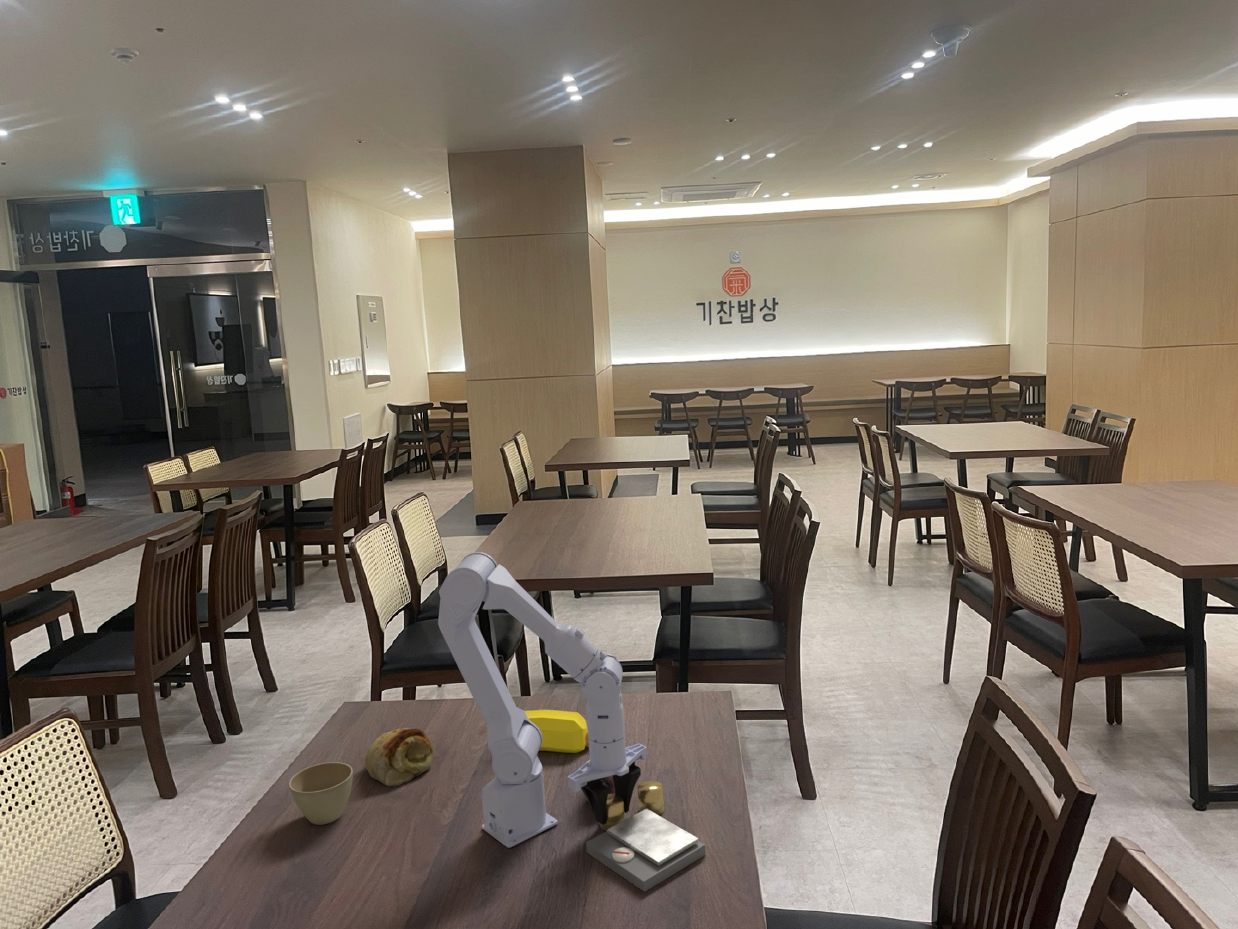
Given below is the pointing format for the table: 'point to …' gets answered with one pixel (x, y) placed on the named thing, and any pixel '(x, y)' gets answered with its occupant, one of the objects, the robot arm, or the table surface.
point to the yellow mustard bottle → (560, 730)
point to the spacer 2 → (651, 797)
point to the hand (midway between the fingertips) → (611, 815)
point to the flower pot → (322, 791)
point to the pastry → (399, 756)
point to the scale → (639, 861)
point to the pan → (652, 836)
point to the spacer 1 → (614, 811)
